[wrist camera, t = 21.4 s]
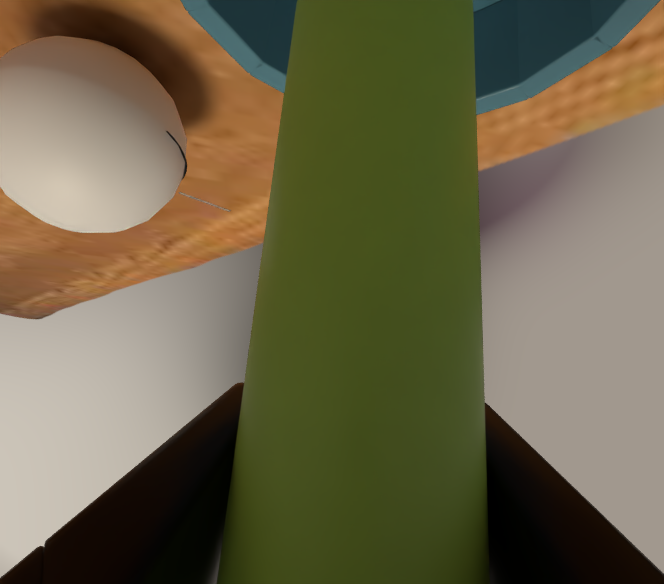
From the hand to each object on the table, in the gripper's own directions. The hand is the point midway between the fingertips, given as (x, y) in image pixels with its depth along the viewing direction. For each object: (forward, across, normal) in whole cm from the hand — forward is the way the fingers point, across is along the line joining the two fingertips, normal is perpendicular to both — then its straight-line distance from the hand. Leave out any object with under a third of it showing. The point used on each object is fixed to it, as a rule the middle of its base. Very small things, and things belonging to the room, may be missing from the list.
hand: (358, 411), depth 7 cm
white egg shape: (+16, +10, -4) cm, 19 cm away
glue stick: (+4, 0, -6) cm, 7 cm away
